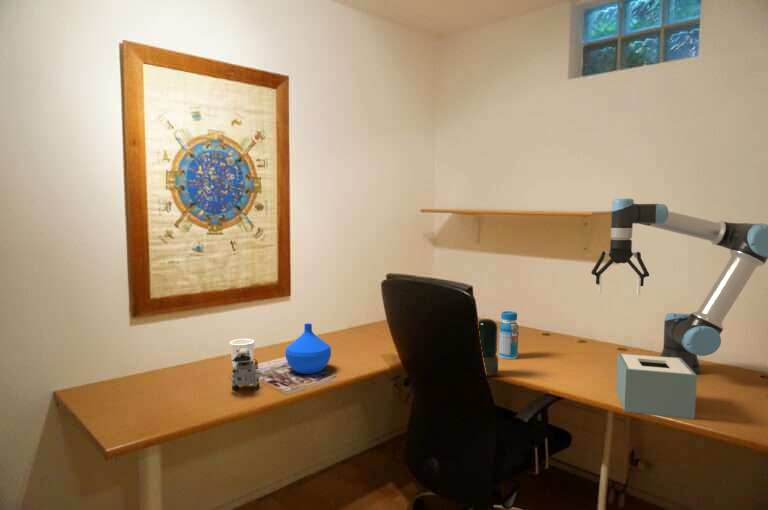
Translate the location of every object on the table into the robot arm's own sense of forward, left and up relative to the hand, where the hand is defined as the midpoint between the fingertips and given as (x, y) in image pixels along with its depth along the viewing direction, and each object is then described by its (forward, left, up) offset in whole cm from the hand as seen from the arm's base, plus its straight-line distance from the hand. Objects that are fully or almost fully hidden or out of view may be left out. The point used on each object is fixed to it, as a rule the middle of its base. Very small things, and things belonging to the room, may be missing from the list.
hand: (618, 293), depth 198 cm
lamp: (+49, +12, -33) cm, 60 cm away
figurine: (+130, +58, -33) cm, 146 cm away
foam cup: (+141, +42, -33) cm, 151 cm away
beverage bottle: (+42, -15, -33) cm, 55 cm away
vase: (+118, +30, -33) cm, 126 cm away
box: (-8, +28, -33) cm, 44 cm away
